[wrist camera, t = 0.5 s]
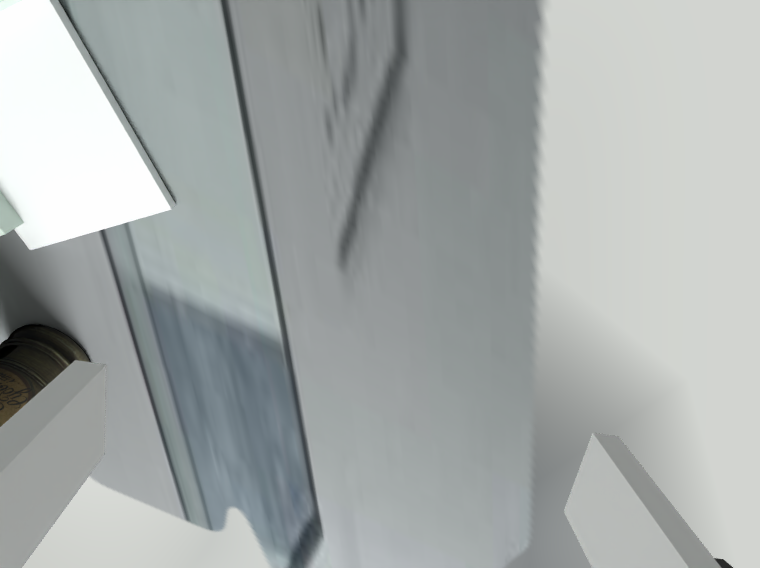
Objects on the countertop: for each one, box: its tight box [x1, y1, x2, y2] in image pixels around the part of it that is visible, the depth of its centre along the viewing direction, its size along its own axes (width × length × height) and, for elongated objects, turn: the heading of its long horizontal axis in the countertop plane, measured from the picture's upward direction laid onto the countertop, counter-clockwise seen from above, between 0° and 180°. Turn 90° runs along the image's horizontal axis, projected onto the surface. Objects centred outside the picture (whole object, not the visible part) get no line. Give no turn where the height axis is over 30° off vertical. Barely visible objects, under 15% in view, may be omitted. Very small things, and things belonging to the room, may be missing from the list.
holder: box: [0, 0, 176, 250], centre depth 40 cm, size 20×16×3 cm
